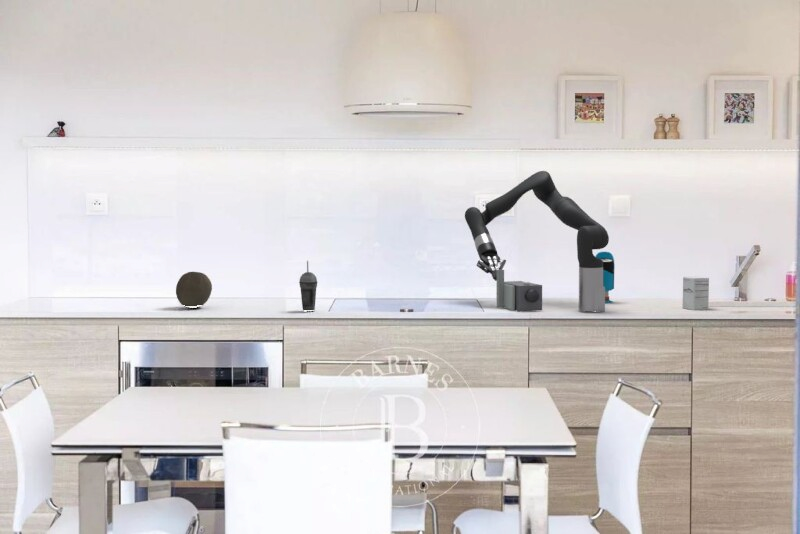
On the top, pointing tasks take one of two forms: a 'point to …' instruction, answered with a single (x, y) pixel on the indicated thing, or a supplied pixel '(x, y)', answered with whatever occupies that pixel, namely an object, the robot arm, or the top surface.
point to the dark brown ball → (193, 289)
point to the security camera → (607, 273)
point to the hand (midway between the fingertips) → (497, 279)
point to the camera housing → (527, 295)
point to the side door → (505, 292)
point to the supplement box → (695, 293)
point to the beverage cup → (308, 290)
